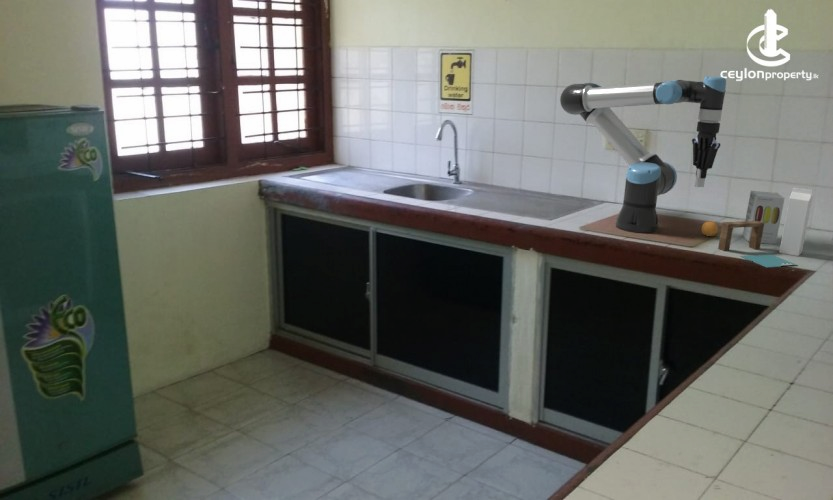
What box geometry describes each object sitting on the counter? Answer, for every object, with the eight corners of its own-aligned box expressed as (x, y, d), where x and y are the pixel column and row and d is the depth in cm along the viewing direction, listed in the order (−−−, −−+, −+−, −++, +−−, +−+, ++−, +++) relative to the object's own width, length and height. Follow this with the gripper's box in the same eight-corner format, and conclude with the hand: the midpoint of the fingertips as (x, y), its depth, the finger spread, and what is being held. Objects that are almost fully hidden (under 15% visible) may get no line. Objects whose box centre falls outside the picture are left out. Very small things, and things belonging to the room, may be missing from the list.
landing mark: (766, 267, 233) (767, 267, 233) (740, 256, 244) (740, 255, 244) (797, 265, 237) (798, 265, 237) (770, 254, 248) (770, 254, 248)
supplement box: (748, 242, 263) (756, 195, 258) (741, 235, 271) (749, 190, 267) (776, 244, 261) (785, 197, 256) (769, 237, 270) (777, 192, 265)
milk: (782, 249, 255) (794, 185, 249) (802, 252, 252) (814, 188, 246) (778, 252, 251) (790, 188, 245) (798, 256, 247) (811, 191, 241)
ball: (706, 238, 265) (709, 223, 263) (697, 234, 270) (699, 219, 268) (719, 238, 266) (722, 223, 265) (709, 234, 271) (712, 219, 270)
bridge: (724, 251, 250) (728, 224, 247) (718, 248, 253) (722, 222, 250) (759, 249, 254) (764, 222, 251) (753, 246, 257) (758, 220, 254)
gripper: (730, 123, 260) (719, 190, 267) (706, 119, 272) (696, 182, 279) (712, 123, 258) (702, 190, 265) (688, 119, 270) (679, 183, 276)
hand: (699, 186), depth 272 cm, fingers closed
